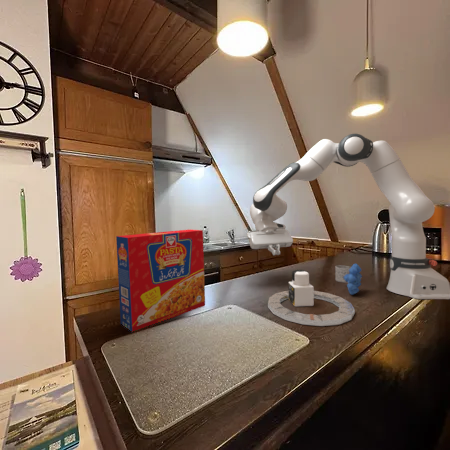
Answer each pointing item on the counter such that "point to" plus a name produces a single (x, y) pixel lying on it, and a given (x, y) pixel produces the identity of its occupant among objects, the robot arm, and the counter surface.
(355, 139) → the robot arm
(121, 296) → the pasta box
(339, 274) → the mug
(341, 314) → the turntable ring
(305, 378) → the counter surface
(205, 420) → the counter surface
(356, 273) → the grapes
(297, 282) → the medicine bottle
